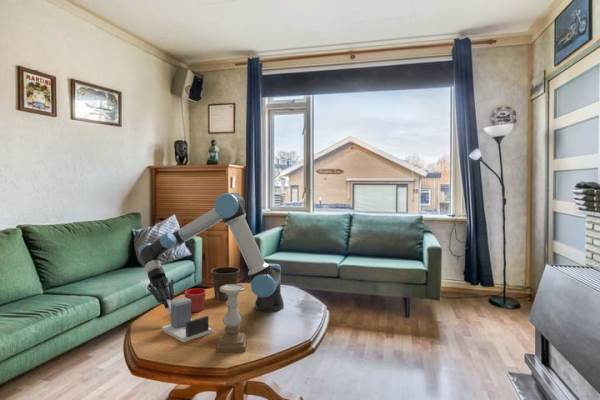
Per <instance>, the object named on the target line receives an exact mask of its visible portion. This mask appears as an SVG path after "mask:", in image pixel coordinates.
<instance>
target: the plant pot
mask: <svg viewBox="0 0 600 400" xmlns="http://www.w3.org/2000/svg"><path fill="white" fill-rule="evenodd" d="M240 271H241V270H240V268H238V267H235V266H222V267H221V266H220V267H216V268H213V269H211V270H210V273H211V277H212V283H213V293H214V299H215V300H217V301H220V302H221V301H223V302H224V301H227V300H228V296H227V295H226V293H223V292H221V291H220V290H219V288H220V287H221V286H223V285H227V284H239V283H238V282H239V281H238V280H239V275H240Z"/></svg>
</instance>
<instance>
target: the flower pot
mask: <svg viewBox="0 0 600 400" xmlns="http://www.w3.org/2000/svg"><path fill="white" fill-rule="evenodd" d="M206 294H207V290H206V289H205V288H191V289H186V290H185V291H184V297H186V298H188V299H191V313H199V312H202V311H203V309H204V306H205V305H204V304H205V300H206Z"/></svg>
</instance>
